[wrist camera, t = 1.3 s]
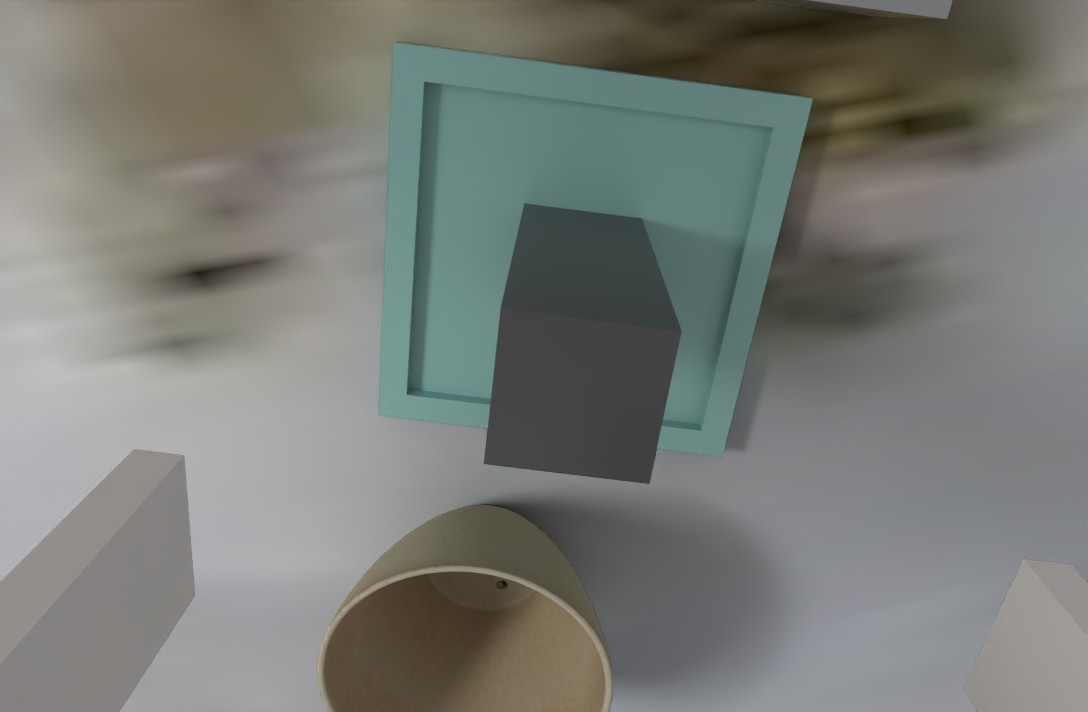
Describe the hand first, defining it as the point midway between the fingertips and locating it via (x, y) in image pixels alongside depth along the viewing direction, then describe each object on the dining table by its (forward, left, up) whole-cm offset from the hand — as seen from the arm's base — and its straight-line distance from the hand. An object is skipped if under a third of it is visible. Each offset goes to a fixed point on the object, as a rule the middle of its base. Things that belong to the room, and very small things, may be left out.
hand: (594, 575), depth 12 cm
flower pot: (-2, -13, -17) cm, 21 cm away
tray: (0, 0, -16) cm, 16 cm away
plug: (0, 0, -16) cm, 16 cm away
